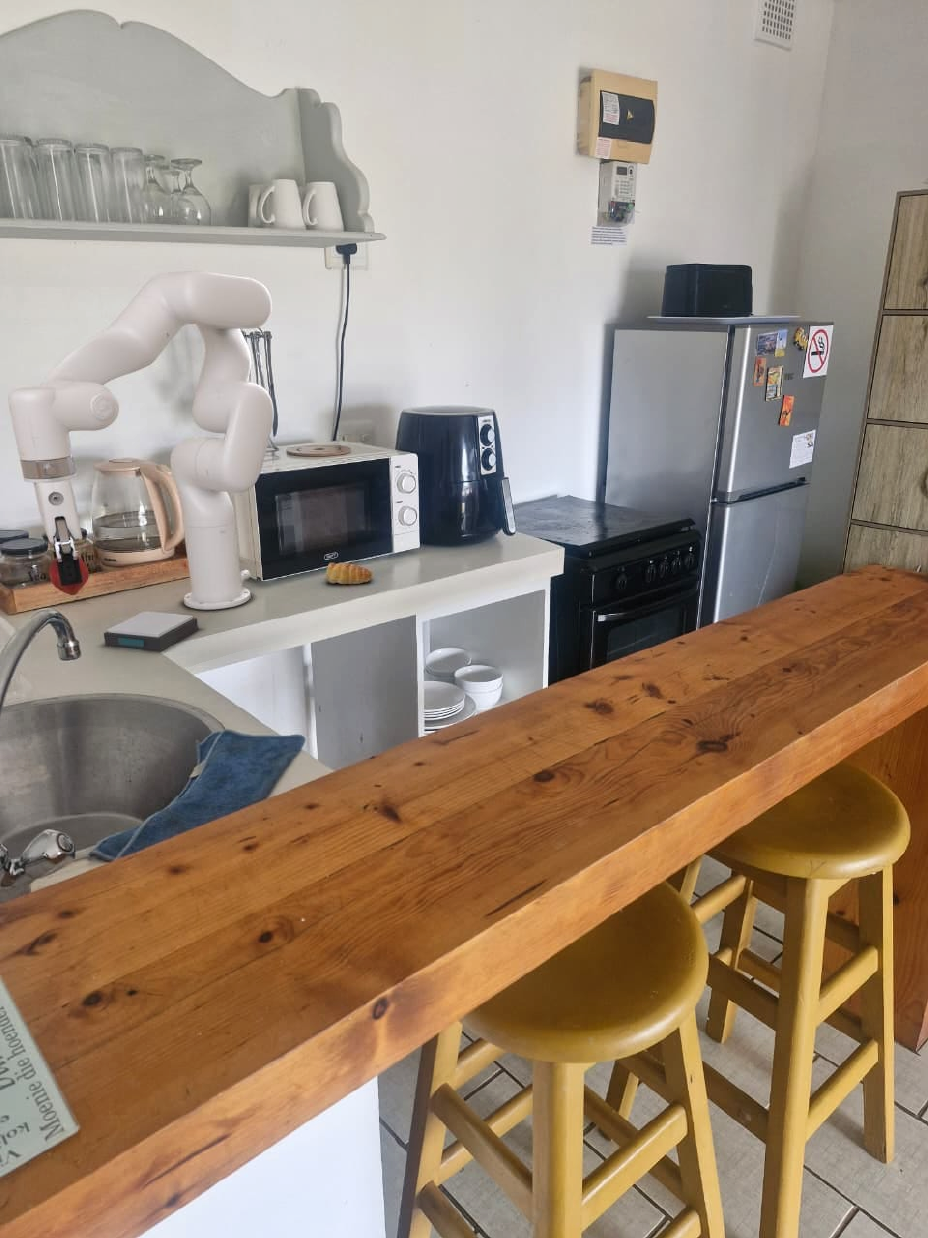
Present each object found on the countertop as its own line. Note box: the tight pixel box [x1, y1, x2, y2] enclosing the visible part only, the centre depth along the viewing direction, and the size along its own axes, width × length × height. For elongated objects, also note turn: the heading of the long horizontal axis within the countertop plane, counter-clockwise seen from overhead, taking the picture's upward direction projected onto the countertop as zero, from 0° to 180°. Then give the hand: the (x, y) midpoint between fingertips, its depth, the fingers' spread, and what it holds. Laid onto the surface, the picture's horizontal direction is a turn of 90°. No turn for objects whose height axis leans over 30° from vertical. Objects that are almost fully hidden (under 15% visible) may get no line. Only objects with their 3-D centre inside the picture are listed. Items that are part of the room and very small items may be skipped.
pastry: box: [324, 562, 373, 585], centre depth 181 cm, size 9×7×4 cm
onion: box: [48, 553, 90, 596], centre depth 141 cm, size 6×6×8 cm
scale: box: [103, 610, 199, 652], centre depth 150 cm, size 11×11×3 cm
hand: (69, 577), depth 142 cm, fingers closed on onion, 5 cm apart
